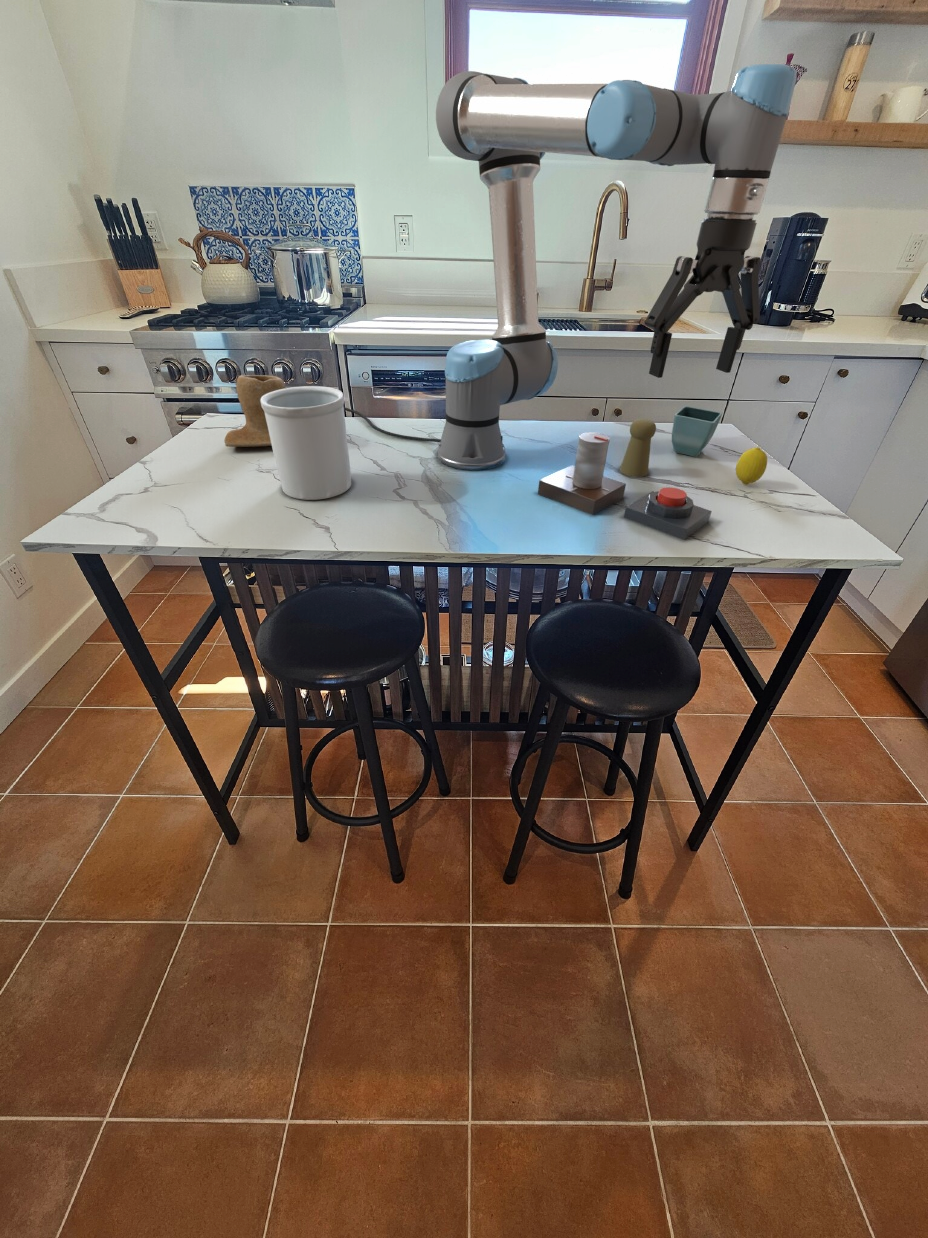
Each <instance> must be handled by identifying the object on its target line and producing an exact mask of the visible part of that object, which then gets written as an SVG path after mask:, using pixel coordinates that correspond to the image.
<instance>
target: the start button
mask: <svg viewBox="0 0 928 1238" xmlns="http://www.w3.org/2000/svg"><path fill="white" fill-rule="evenodd" d="M658 491H659V494H658V498H657V501H658V502H660V503H662V504H664V505H667V506H674V507H678V506H683V505H684V504H685V500H686V497H687V496H688V494H687V492H686V491H685V490H683V489H680V488H677V487H670V486H669V487H667V486H666V487H662V488H659V490H658Z"/></svg>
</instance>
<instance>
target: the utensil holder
mask: <svg viewBox="0 0 928 1238" xmlns="http://www.w3.org/2000/svg"><path fill="white" fill-rule="evenodd" d="M285 388H286V387H285ZM260 401H261V406H262V408H263V410H264V412H265V417H266V421H267V426H268V430H269V435H270V439H271V444H272V446H271V448H272V452H273V458H274V463H275V466H276V470H277V474H278V477H279V482H280V485H281V490H282V491H283V493H284V494H285V495H286V496H288V497H291V498H293V499H298V500H305V501H314V500H315V501H317V500H323V499H324V500H325V499H331V498H334V497H336V496H339V495H341V494H343V493H345V492H347V491H348V490H349V489H350V488H351V486H352V475H351V474H352V473H351V462H350V453H349V445H348V437H347V425H346V416H345V410H344V407H345V406H344V404H345V395H344V393H343V392H342V390H340V389H337V388H333V387H329V386H321V385H320V386H319V385H303V386H293V387H287V388H286V389H280V390H276V391H273V392H270V393H267V394H265V395H264V396H262V397H261V400H260Z"/></svg>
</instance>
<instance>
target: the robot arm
mask: <svg viewBox="0 0 928 1238" xmlns="http://www.w3.org/2000/svg"><path fill="white" fill-rule="evenodd" d="M796 82H797V71H796V69H795V68H794V67H793V66H791V65H788V64H782V63H762V64H761V63H760V64H752V65H750V66H744V67H743V68H740V69H739V71H738V72H737V73H736V75H735V78H734V82H733V84H732V86H731V89H730V90H727V91H722V92H716V93H715V92H714V93H702V94H701V93H699V94H697V93H696V94H694V93H688V92H684V91H678V90H673V89H669V88H665V87H664V88H661V87H658V86H653V85H650V84H645V83H642V82H641V81H639V80H634V79H633V80H632V79H618V80H613V81H611V82H609V83H533V82H530V81H527V80H525V79H523V78H520V77H513V78H512V77H508V76H507V77H506V76H501V75H496V74H491V73H483V72H479V71H476V70H475V71H473V70H468V71H467V70H466V71H462V72H459V73H457V74H455V75H453V76H452V77H450V78H449V79H448V80H447V81H446V82H445V83H444V85H443V86H442V88H441V90H440V92H439V95H438V97H437V102H436V108H435V123H436V129H437V132H438V136H439V138H440V140H441V143H442V144H443V145H444V146H445V148H446V149H447V150H448V151H449V152H450V153H451V154H452V155H454V156H455V157H457V158H459V159H462V160H467V161H473V162H474V161H475V162H478V171H479V173H478V174H479V180H480V181H481V182H482V183H483V185H485V186H486V187H487V190H488V200H489V201H488V202H489V215H490V231H491V244H492V257H493V259H492V260H493V272H494V285H495V301H496V302H495V303H496V314H497V315H496V316H497V328H496V330H495V331H494V333H493V334H492V336H491V339H486V338H485V339H483V338H481V339H478V340H474V339H471V340H466V341H462V342H459V343H457V344H455V345H453V346H452V347H451V348H450V349H449V350H448V351H447V353H446V357H445V368H444V376H445V424H444V427H443V429H442V430H443V431H442V434H441V436H440V437H441V438H429V437H419V436H411V435H405V434H404V435H403V434H399V433H396V432H390V431H388V430H385V429H383V428H380V427H378V426H376V425H375V424H373V422H372V421H371V419H369V418H368V417H367V416H366V415H364V414H363V413H361V412H359V411H357V410H354V409H351V408H348V407H346V406H343V407H344V411H346V412H349V413H352V414H356V415H357V416H359V417H361V418H362V419H363V420H365V421H366V422H367V423H368V425H369V426H370V427H371V428H372V429H374V430H375V431H377V432H379V433H381V434H385V435H387V436H391V437H394V438H400V439H405V440H412V441H419V442H431V443H438V446H437V459H438V461H439V462H440V463H442V464H443V465H445V466H448V467H450V468H454V469H459V470H466V471H481V470H489V469H492V468H495V467H498V466H499V465H501V464H503V463H504V462H505V460H506V448H505V444H504V443H503V440H504V439H503V438H504V436H503V435H502V432H501V427H500V411H501V410H500V409H501V406H503V405H508V404H511V403H516V402H520V401H524V400H525V401H527V400H532V399H534V398H536V397H539V396H542V395H543V394H545V393H546V392H548V391H549V389H550V388H551V386H553V384H554V382H555V380H556V378H557V375H558V369H559V361H558V360H559V359H558V353H557V351H556V349H554V346H553V344H552V343H551V342H550V341H549V340H547V330H546V329H545V328H544V327H543V326H542V324H541V323H540V322H539V306H538V281H537V279H538V277H537V256H536V255H537V254H536V253H537V252H536V231H535V228H536V226H535V204H534V202H535V201H534V200H535V199H534V181H535V178H536V177H537V175H538V174H539V172H540V171H541V160H542V159H543V157H544V156H545V155H546V153H549V154H561V155H572V156H582V157H583V156H585V157H596V158H601V159H608V160H612V161H637V162H638V161H639V162H647V163H649V164H652V165H658V166H665V167H666V166H667V167H673V166H681V165H682V166H683V165H704V164H705V165H706V164H707V165H714V166H713V167H714V168H713V174H712V178H711V180H710V184H709V189H708V193H707V197H706V201H705V205H704V209H703V212H704V213H705V214H707V216H706V217H704V218H703V220H701V223H700V227H699V232H698V236H697V240H696V247H697V252H696V255H695V257H694V258H693V257H690V256H685V255H684V256H683V255H678V256H677V258H676V259H675V263H674V266H673V270H672V272H671V274H670V276H669V278H668V280H667V282H666V283H665V285H664V287H663V288H662V290H661V292H660V294H659V295H658V297H657V299H656V300H655V303H654V304H653V306H652V308H651V309H650V311H649V313H648V315H647V316H646V318H645V320H644V325H645V326H646V327H649V328H650V329H651V330H653V336H652V341H651V346H650V354H652V356H651V361H650V367H649V370H648V374H649V375H651V376H653V377H656V378H658V379H661V378H663V377H664V372H665V368H666V362H667V358H668V355H669V350H670V346H671V341H672V336H673V332H670V329H671V328H672V327H674V325H675V324H676V322H677V321H678V320H679V319H680V317H682V315H683V314H684V313H685V312H686V311H687V310H688V308H689V307H690V306H691V305H692V303H694V301H695V300H696V299H697V297H699V296H701V295H702V294H703V293H704V292H705V293H713V292H718V293H722V296H723V299H724V301H725V305H726V308H727V312H728V314H729V317H730V320H731V323H732V325H733V326H728V327H727V329H726V332H725V336H724V340H723V343H722V345H721V349H720V353H719V356H718V361H717V363H716V367H715V370H717V371H721V372H723V373H726V374H729V373H731V372H732V369H733V368H732V367H733V364H734V361H735V358H736V354H737V352H738V351H739V350H740V348H741V346H742V342H743V339H744V336H745V332H746V330H747V331H750V330H751V329H752V328H753V326H754V325H758V324H759V322H760V319H761V313H760V311H761V310H760V289H759V288H760V287H759V286H760V285H759V271H760V268H761V263H762V258H761V257H760V256H751V255H746V256H745V254H746V251H748V250H749V249H750V248H751V245H752V241H753V238H754V235H755V231H756V227H757V224H758V223H757V220H756V219H754V218H755V215H758V214H760V212H761V209H762V206H763V202H764V198H765V194H766V191H767V188H768V185H769V181H770V177H771V174H772V169H773V166H774V162H775V159H776V156H777V152H778V148H779V146H780V141H781V139H782V135H783V132H784V128H785V125H786V122H787V119H788V118H789V116H790V109H791V104H792V99H793V95H794V91H795V87H796ZM690 274H691V276H690ZM739 274H740V281H739V277H738V275H739ZM689 276H690V277H689ZM688 278H689V279H688Z"/></svg>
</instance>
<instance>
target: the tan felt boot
mask: <svg viewBox="0 0 928 1238" xmlns="http://www.w3.org/2000/svg"><path fill="white" fill-rule="evenodd" d="M280 389H286V384H285V381H284V380H283V379H282V378H281V377H278V376H275V375H268V374H267V375H266V374H265V375H264V374H262V375H261V374H247V375H245V374H241V375H238V377H237V379H236V389H235V390H236V394H237V399H238V401H239V404H240V407H241V409H242V412H243V415H244V418H245V425H244V426H243V427H241V428H236V429H232V430H229V431H228V432H226V435H225V436H224V441H223V442H224V446H225V447H227V448H228V447H229V448H250V447H251V448H252V447H253V448H256V447H258V448H259V447H272V444H271V439H270V435H269V430H268V426H267V421H266V417H265V412H264V410H263V408H262V406H261V401H260V400H261V397H262V396H264V395H265V394H267V393H270V392H273V391H276V390H280Z"/></svg>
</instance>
